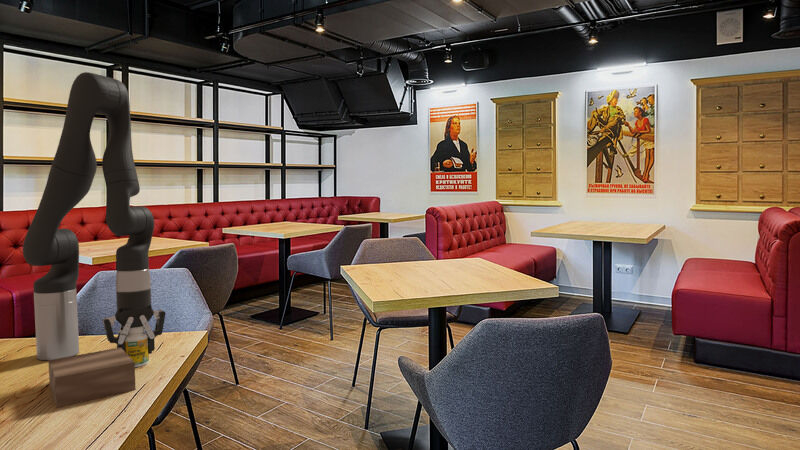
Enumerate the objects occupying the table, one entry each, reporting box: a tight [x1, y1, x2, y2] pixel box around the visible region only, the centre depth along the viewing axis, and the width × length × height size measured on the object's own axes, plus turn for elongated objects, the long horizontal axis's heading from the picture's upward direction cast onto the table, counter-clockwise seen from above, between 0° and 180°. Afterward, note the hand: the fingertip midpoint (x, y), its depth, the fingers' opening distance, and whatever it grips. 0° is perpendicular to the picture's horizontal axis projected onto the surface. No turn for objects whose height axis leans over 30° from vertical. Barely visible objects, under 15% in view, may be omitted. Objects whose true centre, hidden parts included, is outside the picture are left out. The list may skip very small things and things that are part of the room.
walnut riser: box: [47, 347, 137, 408], centre depth 108 cm, size 14×14×6 cm
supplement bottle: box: [123, 326, 150, 368], centre depth 123 cm, size 5×5×10 cm
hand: (136, 355), depth 124 cm, fingers closed on supplement bottle, 5 cm apart
